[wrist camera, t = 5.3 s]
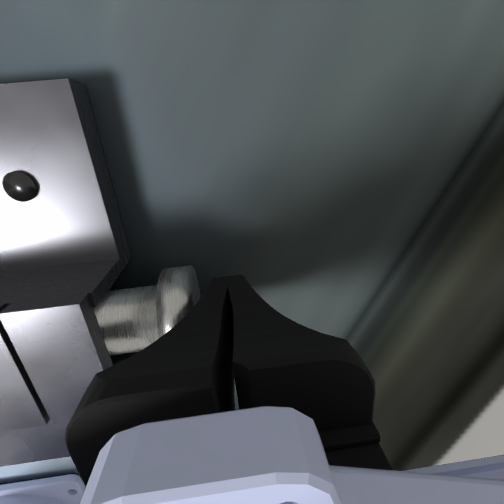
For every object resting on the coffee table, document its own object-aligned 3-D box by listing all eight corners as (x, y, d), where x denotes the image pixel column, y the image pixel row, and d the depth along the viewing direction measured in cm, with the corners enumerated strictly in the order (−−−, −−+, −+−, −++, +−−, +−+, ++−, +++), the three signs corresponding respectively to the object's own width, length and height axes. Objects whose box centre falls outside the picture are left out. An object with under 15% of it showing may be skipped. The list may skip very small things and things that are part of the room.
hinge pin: (192, 251, 12) (181, 295, 9) (205, 322, 14) (199, 382, 10) (-163, 292, 12) (-318, 356, 8) (-112, 362, 13) (-226, 441, 10)
